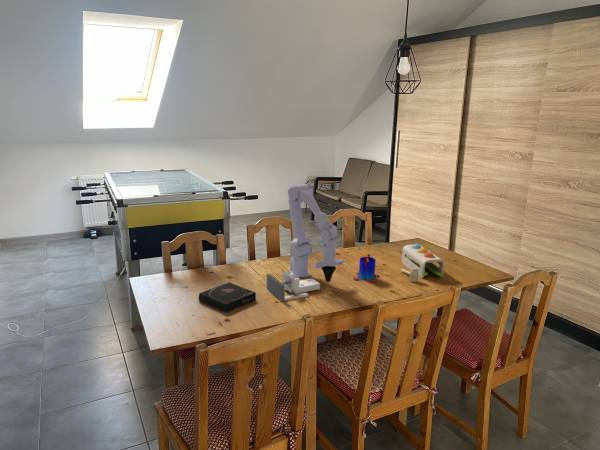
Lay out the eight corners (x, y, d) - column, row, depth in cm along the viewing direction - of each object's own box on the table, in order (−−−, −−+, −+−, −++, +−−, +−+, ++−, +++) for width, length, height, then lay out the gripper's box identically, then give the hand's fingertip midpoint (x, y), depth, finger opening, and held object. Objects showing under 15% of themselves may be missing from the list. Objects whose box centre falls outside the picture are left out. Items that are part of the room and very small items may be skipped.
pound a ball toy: (388, 263, 243) (390, 241, 240) (421, 262, 246) (423, 240, 243) (411, 283, 216) (413, 259, 213) (447, 281, 219) (450, 257, 216)
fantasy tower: (376, 284, 214) (378, 259, 211) (351, 280, 218) (353, 256, 214) (380, 275, 225) (382, 252, 222) (357, 272, 228) (358, 249, 225)
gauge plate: (278, 286, 204) (278, 272, 203) (285, 285, 206) (285, 271, 204) (290, 296, 195) (290, 281, 193) (297, 295, 196) (297, 279, 194)
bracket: (293, 296, 199) (294, 279, 197) (286, 290, 205) (286, 274, 203) (319, 291, 205) (320, 275, 203) (312, 285, 211) (312, 270, 209)
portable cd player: (228, 290, 204) (228, 282, 203) (255, 301, 193) (255, 292, 192) (198, 301, 192) (198, 292, 191) (226, 313, 181) (225, 304, 180)
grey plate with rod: (266, 288, 205) (266, 274, 204) (292, 284, 211) (293, 269, 209) (281, 301, 193) (281, 285, 191) (308, 296, 198) (308, 281, 197)
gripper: (319, 257, 201) (318, 286, 204) (347, 253, 207) (346, 281, 211) (311, 253, 207) (310, 281, 210) (339, 249, 213) (337, 276, 217)
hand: (327, 281), depth 211 cm, fingers closed
